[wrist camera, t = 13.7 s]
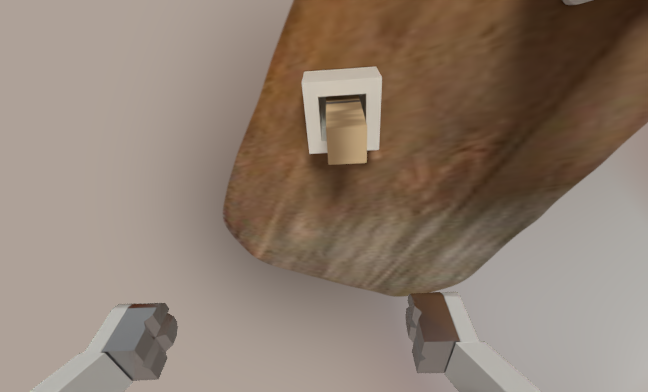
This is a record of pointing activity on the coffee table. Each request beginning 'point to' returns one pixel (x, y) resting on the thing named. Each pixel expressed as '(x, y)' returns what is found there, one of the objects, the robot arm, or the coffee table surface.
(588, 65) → the coffee table surface
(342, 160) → the oak peg
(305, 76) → the socket board
